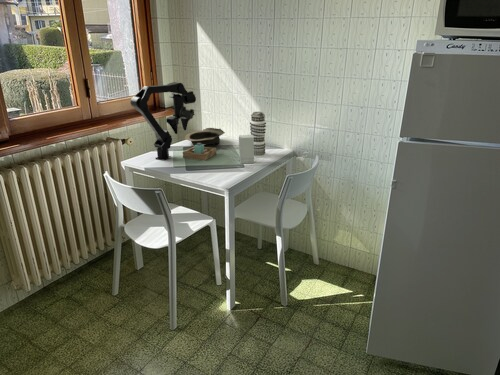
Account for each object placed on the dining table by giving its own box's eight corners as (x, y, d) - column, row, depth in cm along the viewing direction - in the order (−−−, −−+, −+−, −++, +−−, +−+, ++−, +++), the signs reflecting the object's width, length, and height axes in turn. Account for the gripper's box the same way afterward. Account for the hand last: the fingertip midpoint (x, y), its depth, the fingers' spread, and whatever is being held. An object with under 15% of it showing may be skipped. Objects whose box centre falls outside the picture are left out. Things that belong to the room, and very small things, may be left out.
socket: (203, 156, 221) (202, 151, 220) (192, 155, 224) (191, 150, 223) (207, 154, 225) (207, 149, 224) (196, 153, 228) (196, 148, 227)
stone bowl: (231, 142, 251) (231, 128, 247) (208, 155, 232) (207, 140, 228) (201, 137, 263) (200, 123, 259) (177, 148, 244) (175, 134, 240)
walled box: (204, 160, 216) (203, 154, 215) (183, 157, 221) (182, 151, 220) (216, 153, 228) (215, 148, 227) (195, 151, 233) (195, 145, 232)
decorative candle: (263, 158, 220) (263, 114, 210) (248, 156, 222) (247, 113, 213) (267, 153, 228) (268, 111, 218) (253, 152, 230) (252, 110, 221)
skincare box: (254, 160, 216) (253, 134, 211) (254, 163, 211) (254, 137, 205) (239, 160, 216) (238, 134, 211) (239, 163, 211) (238, 137, 205)
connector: (200, 156, 222) (200, 144, 219) (195, 155, 224) (194, 143, 221) (204, 154, 225) (203, 142, 223) (198, 153, 227) (197, 142, 224)
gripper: (181, 108, 208) (183, 137, 213) (199, 103, 223) (200, 129, 229) (164, 107, 212) (167, 135, 218) (183, 102, 228) (184, 128, 233)
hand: (180, 132), depth 224 cm, fingers open, 9 cm apart
